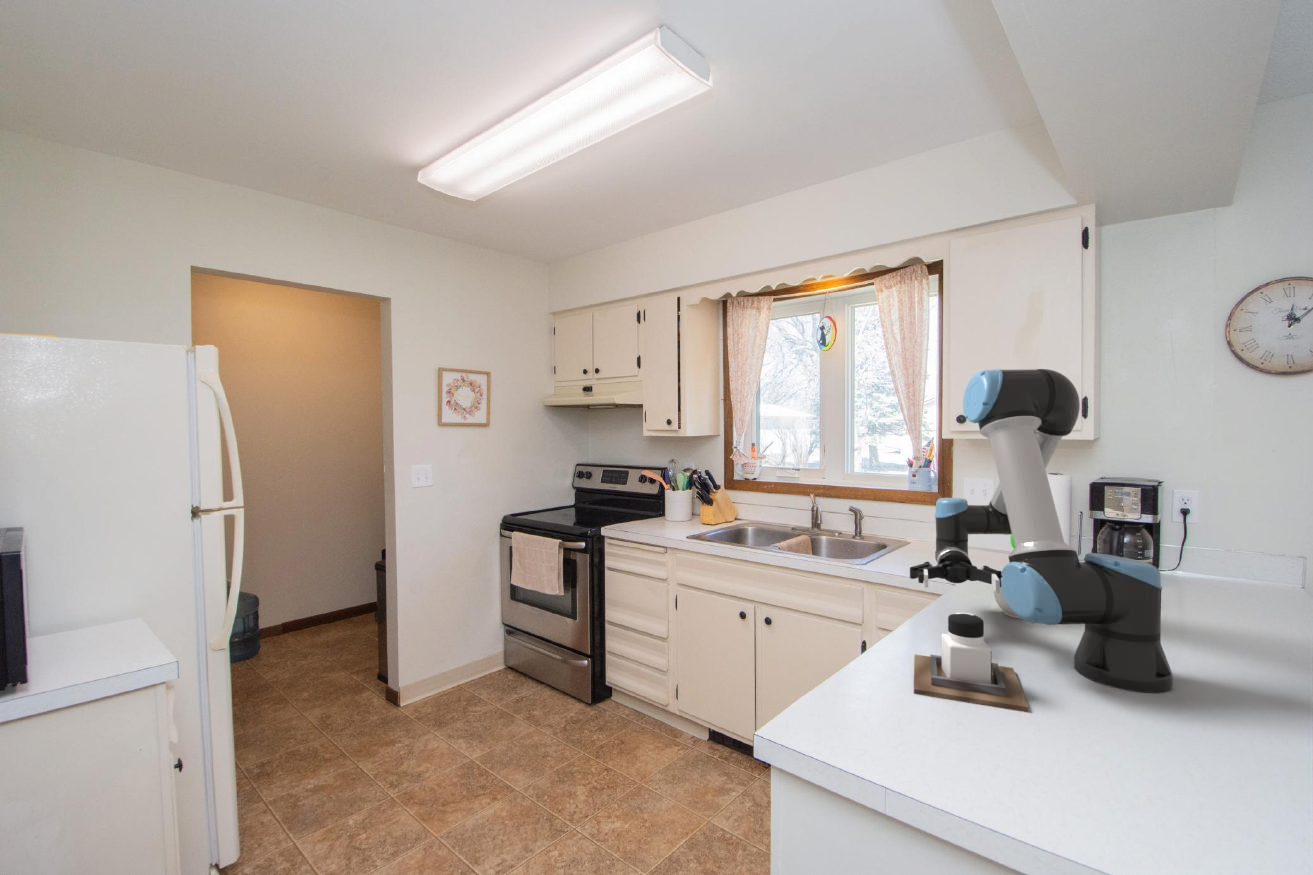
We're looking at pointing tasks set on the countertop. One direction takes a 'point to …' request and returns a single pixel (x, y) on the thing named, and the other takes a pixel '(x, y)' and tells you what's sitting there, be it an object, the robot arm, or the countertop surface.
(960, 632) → the medicine bottle
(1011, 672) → the dock
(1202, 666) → the countertop surface
